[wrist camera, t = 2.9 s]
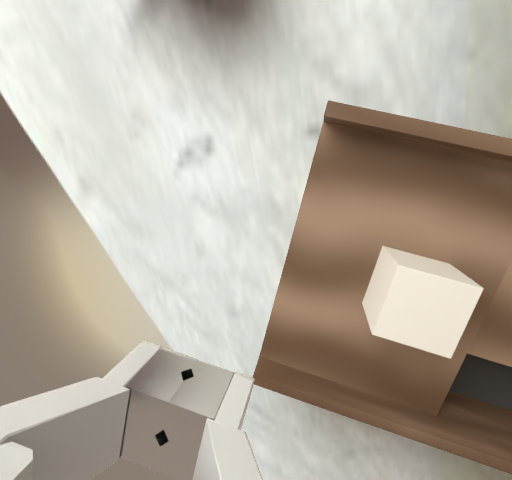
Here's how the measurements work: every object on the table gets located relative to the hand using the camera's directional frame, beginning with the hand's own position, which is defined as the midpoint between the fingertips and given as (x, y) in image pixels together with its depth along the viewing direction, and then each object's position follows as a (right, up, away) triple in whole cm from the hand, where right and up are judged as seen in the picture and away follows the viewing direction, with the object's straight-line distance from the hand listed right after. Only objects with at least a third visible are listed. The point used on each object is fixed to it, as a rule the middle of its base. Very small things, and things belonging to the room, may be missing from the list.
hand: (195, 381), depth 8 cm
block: (+11, +1, +11) cm, 16 cm away
